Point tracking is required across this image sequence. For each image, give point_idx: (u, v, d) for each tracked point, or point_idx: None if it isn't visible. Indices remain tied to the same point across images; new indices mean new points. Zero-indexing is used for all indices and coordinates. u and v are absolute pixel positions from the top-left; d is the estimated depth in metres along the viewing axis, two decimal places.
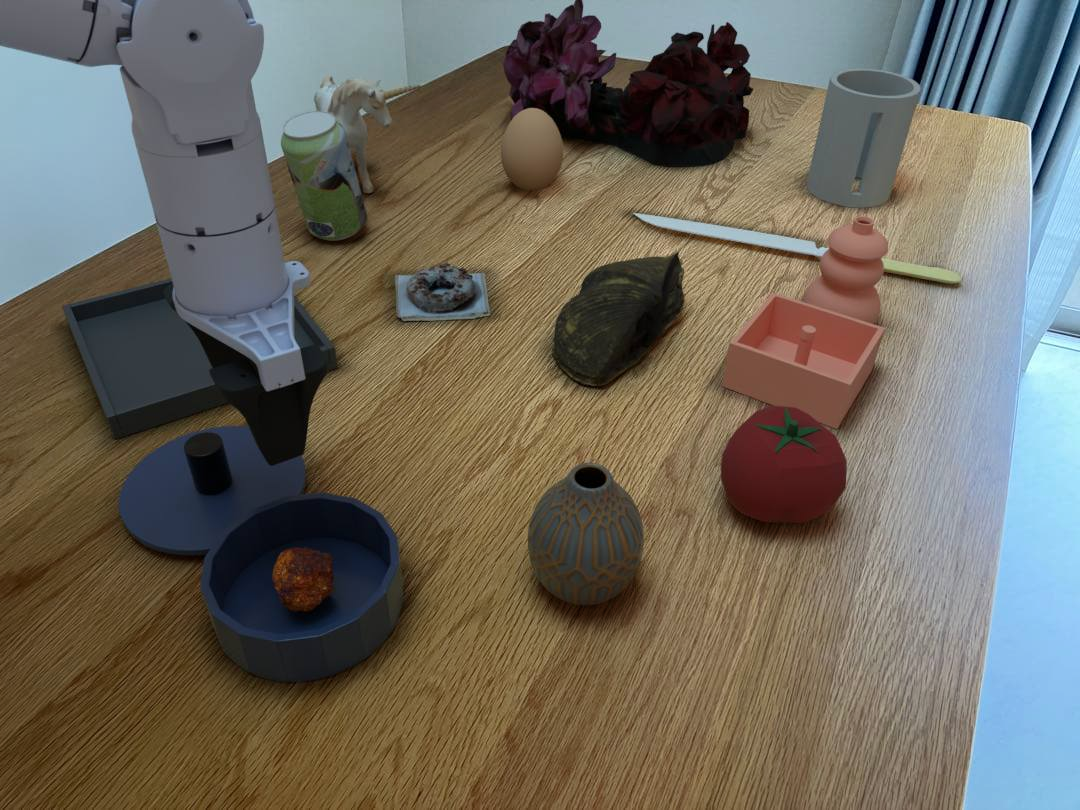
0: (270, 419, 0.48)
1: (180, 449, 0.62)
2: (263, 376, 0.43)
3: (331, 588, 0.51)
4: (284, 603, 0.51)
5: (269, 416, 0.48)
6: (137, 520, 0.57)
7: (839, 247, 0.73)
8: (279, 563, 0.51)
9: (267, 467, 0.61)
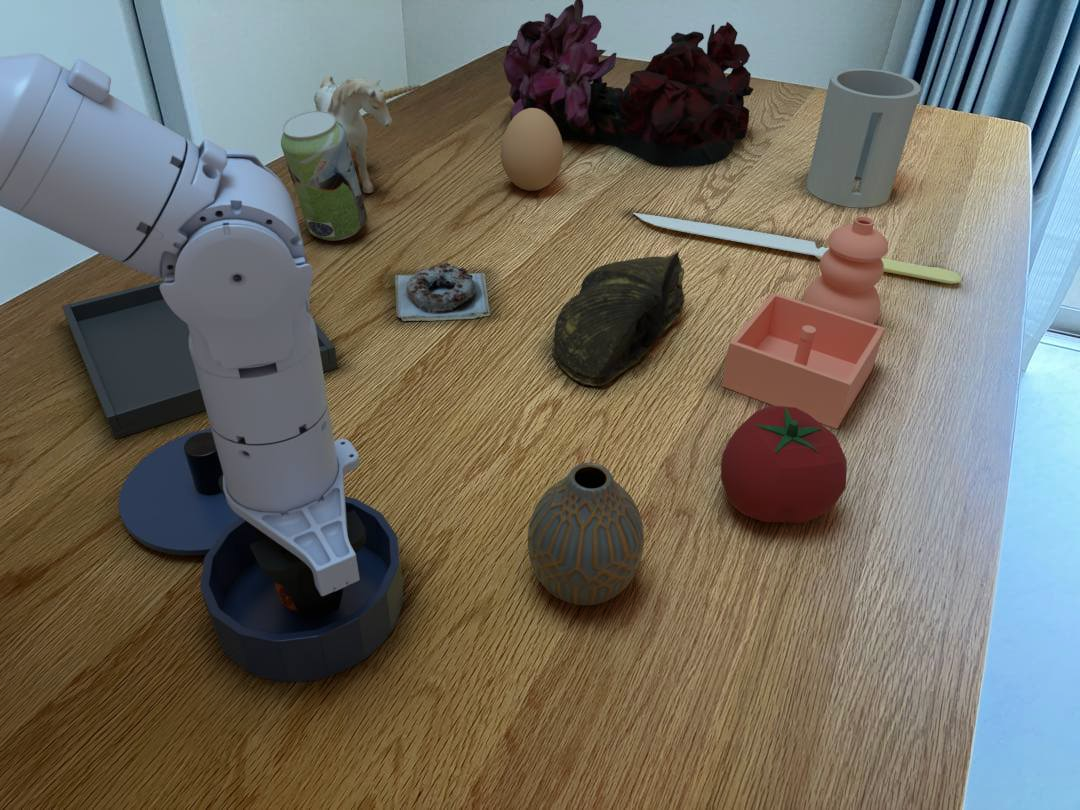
0: (308, 582, 0.48)
1: (180, 449, 0.62)
2: (319, 583, 0.42)
3: None
4: (284, 603, 0.51)
5: (307, 580, 0.48)
6: (137, 520, 0.57)
7: (839, 247, 0.73)
8: None
9: None
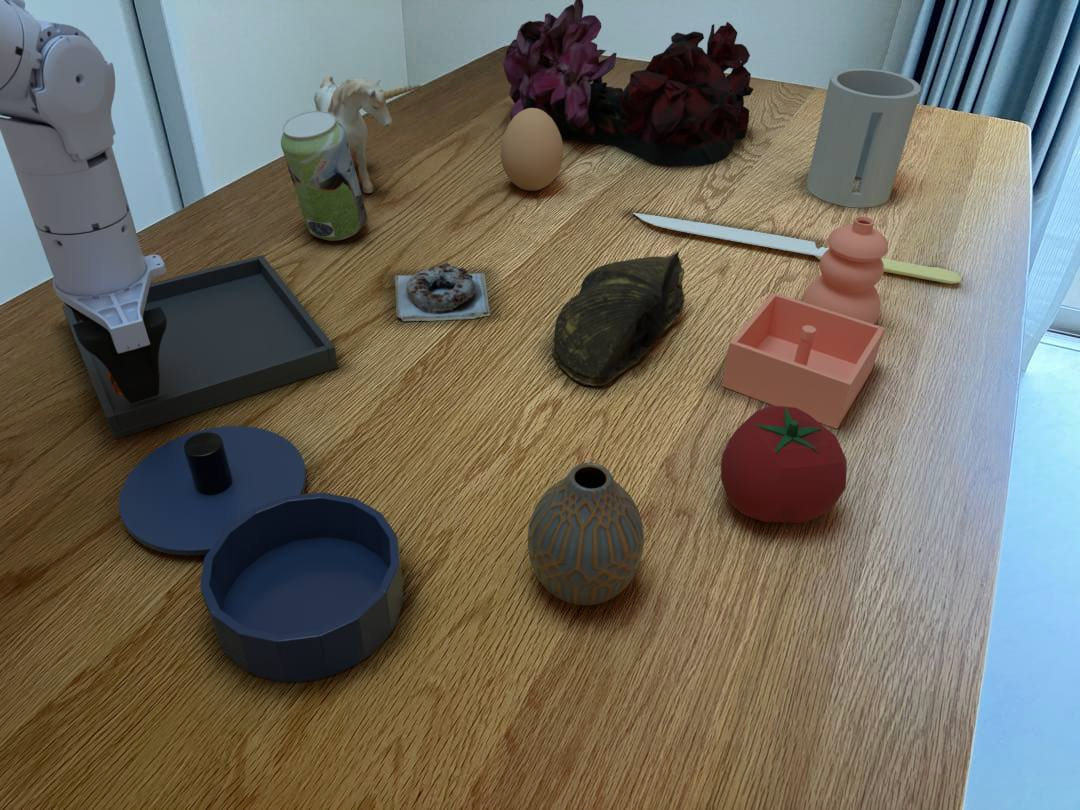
0: (126, 365, 0.62)
1: (180, 449, 0.62)
2: (114, 341, 0.56)
3: None
4: (115, 390, 0.65)
5: (125, 363, 0.62)
6: (137, 520, 0.57)
7: (839, 247, 0.73)
8: None
9: (267, 467, 0.61)
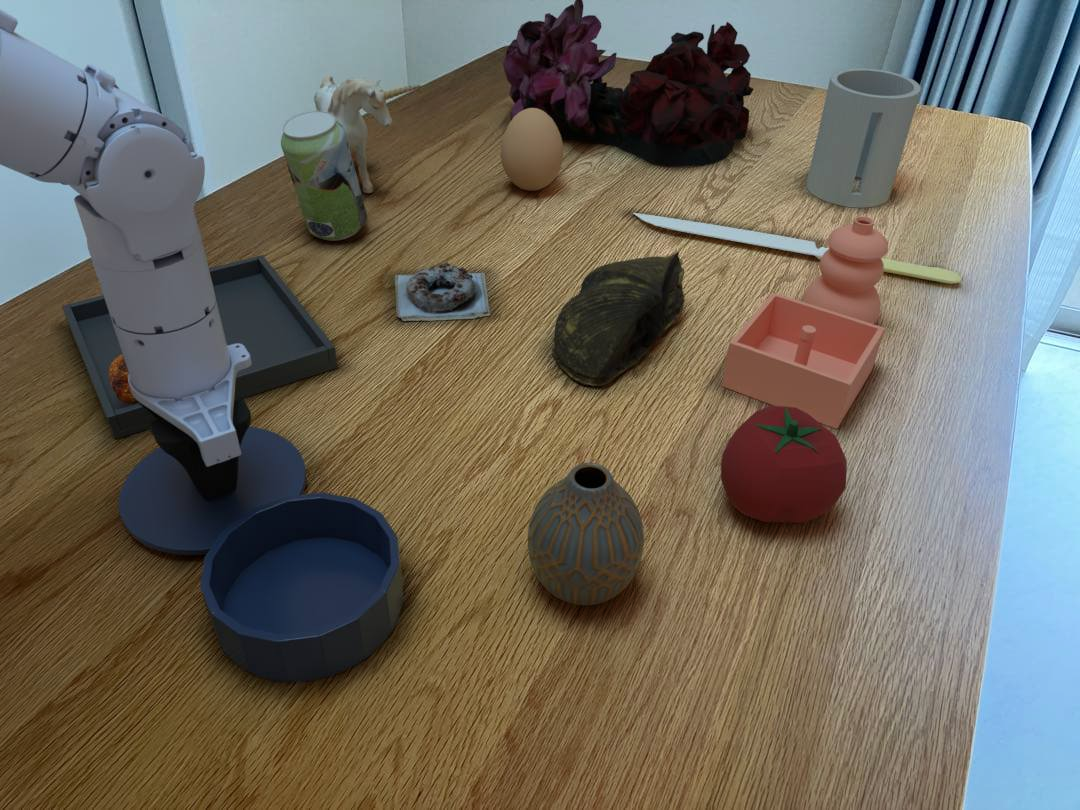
0: (204, 462, 0.56)
1: None
2: (203, 454, 0.49)
3: None
4: (117, 396, 0.65)
5: (203, 460, 0.56)
6: (137, 520, 0.57)
7: (839, 247, 0.73)
8: (113, 363, 0.65)
9: (267, 467, 0.61)
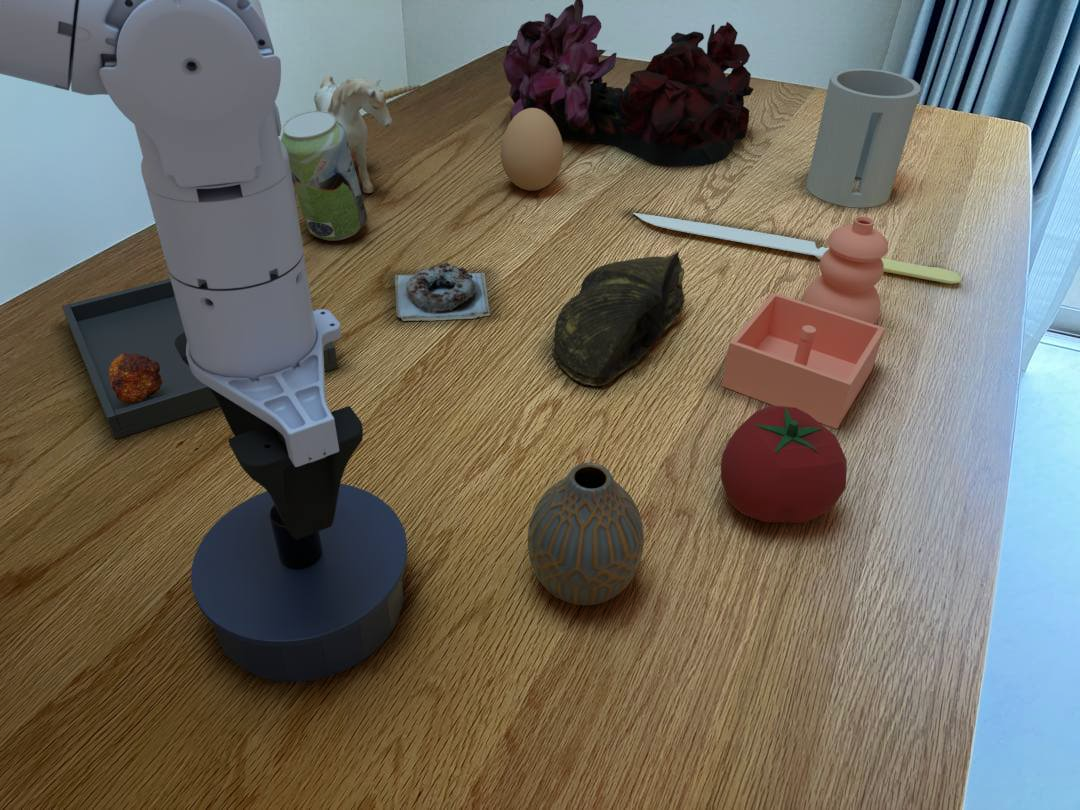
0: (296, 490, 0.42)
1: (257, 511, 0.53)
2: (292, 451, 0.37)
3: (155, 385, 0.65)
4: (117, 396, 0.65)
5: (295, 487, 0.42)
6: (215, 602, 0.48)
7: (839, 247, 0.73)
8: (113, 363, 0.65)
9: (361, 533, 0.52)
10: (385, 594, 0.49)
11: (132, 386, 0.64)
